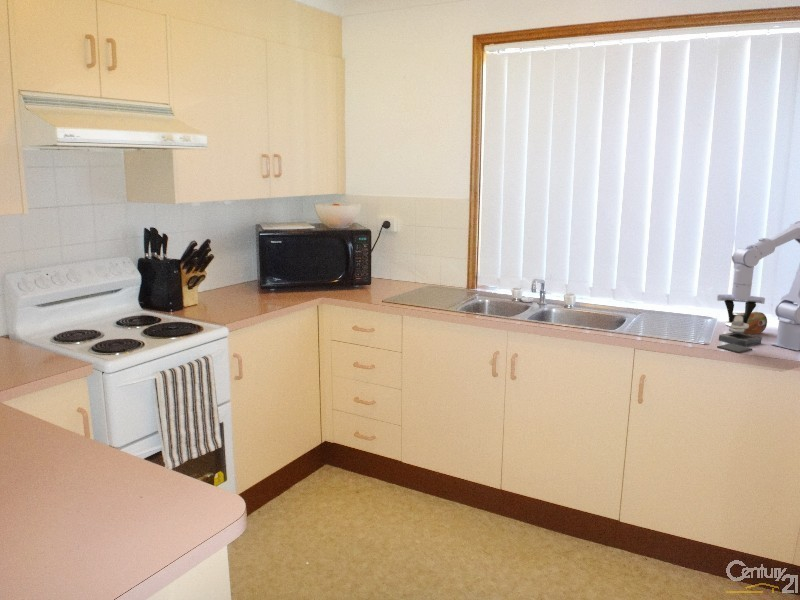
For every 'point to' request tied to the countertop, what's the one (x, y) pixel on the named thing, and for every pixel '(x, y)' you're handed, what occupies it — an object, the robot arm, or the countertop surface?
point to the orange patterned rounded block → (756, 323)
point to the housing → (740, 339)
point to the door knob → (737, 323)
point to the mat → (734, 348)
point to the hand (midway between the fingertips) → (737, 322)
